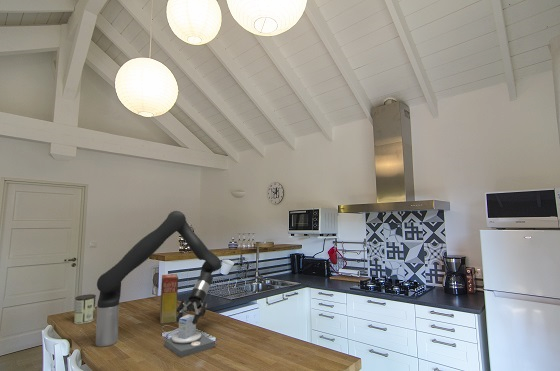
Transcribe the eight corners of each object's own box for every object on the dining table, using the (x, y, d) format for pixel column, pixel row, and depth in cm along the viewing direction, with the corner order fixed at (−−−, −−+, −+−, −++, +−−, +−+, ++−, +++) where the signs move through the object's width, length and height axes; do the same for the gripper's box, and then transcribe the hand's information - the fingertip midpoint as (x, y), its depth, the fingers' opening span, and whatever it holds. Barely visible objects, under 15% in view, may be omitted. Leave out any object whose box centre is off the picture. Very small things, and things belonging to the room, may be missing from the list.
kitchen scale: (164, 345, 145) (164, 336, 145) (196, 336, 155) (196, 328, 156) (180, 357, 131) (181, 347, 132) (214, 347, 142) (214, 337, 142)
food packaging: (177, 321, 179) (178, 277, 182) (159, 324, 175) (161, 278, 178) (176, 315, 191) (177, 273, 194) (159, 317, 188) (160, 274, 190)
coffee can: (82, 318, 188) (83, 294, 190) (98, 318, 187) (99, 294, 189) (69, 323, 178) (70, 298, 179) (86, 324, 177) (87, 298, 178)
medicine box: (188, 332, 150) (188, 313, 151) (196, 333, 149) (196, 314, 150) (178, 338, 142) (178, 318, 143) (186, 339, 141) (186, 319, 142)
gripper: (184, 286, 157) (169, 317, 145) (209, 288, 153) (195, 319, 141) (190, 295, 162) (176, 325, 149) (214, 297, 157) (201, 328, 145)
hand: (185, 322), depth 145 cm, fingers open, 8 cm apart
